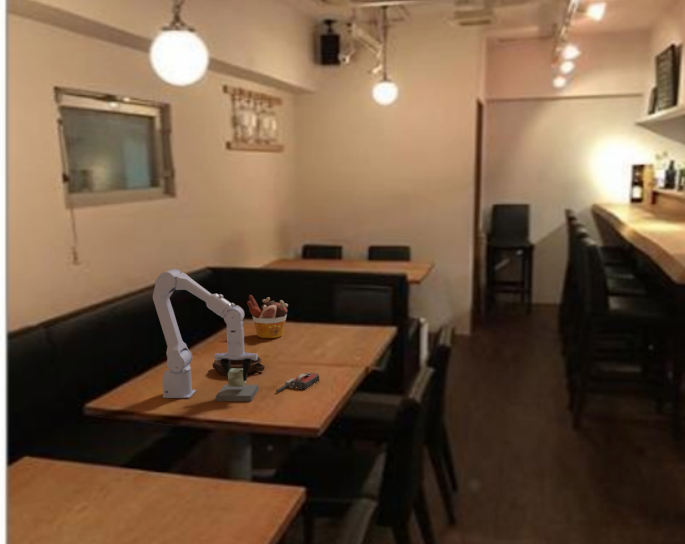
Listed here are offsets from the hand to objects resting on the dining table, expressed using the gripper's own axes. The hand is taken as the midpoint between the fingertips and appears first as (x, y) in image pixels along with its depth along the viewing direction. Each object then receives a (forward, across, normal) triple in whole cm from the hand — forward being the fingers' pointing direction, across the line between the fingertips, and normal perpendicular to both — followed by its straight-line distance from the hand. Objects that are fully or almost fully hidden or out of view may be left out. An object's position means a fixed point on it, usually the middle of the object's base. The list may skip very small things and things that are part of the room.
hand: (237, 380), depth 231 cm
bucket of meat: (+6, -6, +87) cm, 87 cm away
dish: (+6, -7, +29) cm, 30 cm away
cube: (+2, 0, 0) cm, 2 cm away
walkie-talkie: (+6, +20, +11) cm, 23 cm away
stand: (+6, 0, 0) cm, 6 cm away
